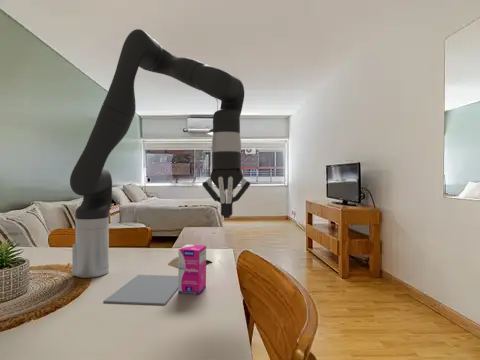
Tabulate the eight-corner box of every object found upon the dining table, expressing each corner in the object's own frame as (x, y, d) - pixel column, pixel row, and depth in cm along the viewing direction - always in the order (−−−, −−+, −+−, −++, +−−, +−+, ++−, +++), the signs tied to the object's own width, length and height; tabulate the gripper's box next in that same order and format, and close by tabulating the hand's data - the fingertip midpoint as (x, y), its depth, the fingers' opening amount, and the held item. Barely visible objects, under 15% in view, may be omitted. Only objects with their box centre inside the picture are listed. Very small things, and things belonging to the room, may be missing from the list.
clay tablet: (182, 272, 99) (182, 264, 99) (163, 266, 105) (163, 258, 105) (215, 263, 110) (215, 255, 110) (196, 258, 116) (196, 251, 116)
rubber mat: (103, 302, 74) (103, 300, 74) (138, 276, 94) (138, 274, 94) (165, 305, 72) (165, 303, 72) (187, 277, 92) (187, 276, 92)
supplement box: (177, 293, 80) (177, 248, 80) (186, 285, 85) (186, 243, 85) (199, 295, 78) (199, 249, 78) (206, 287, 84) (206, 244, 84)
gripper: (252, 152, 84) (252, 216, 84) (204, 152, 85) (204, 215, 85) (251, 149, 77) (251, 220, 77) (198, 150, 78) (198, 219, 78)
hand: (226, 217), depth 81 cm, fingers closed
